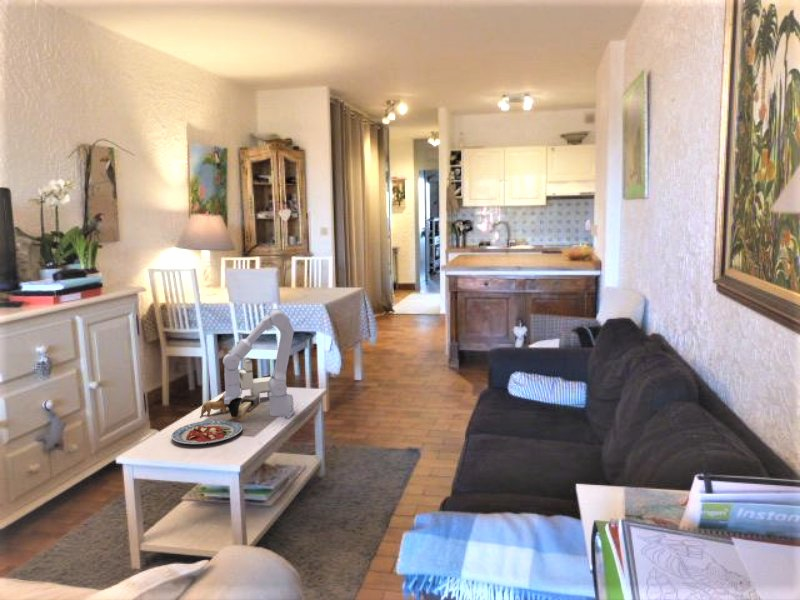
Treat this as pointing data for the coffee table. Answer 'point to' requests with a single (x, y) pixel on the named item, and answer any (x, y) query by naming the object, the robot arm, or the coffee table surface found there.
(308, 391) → the coffee table surface
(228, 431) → the ceramic plate
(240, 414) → the slat
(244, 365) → the toy llama
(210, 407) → the lion figurine
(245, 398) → the cradle
